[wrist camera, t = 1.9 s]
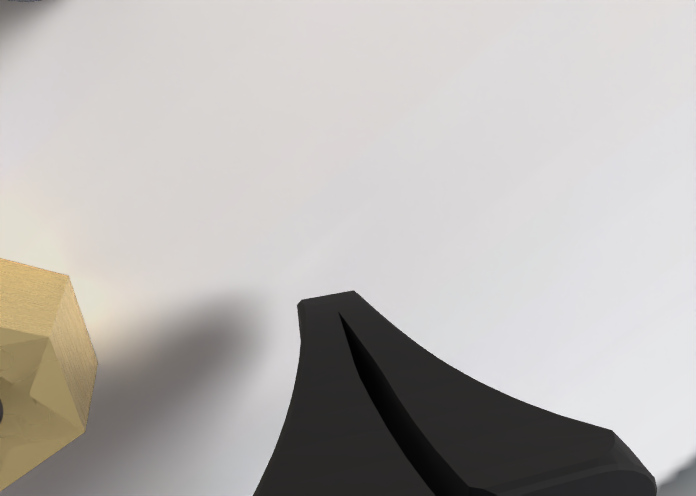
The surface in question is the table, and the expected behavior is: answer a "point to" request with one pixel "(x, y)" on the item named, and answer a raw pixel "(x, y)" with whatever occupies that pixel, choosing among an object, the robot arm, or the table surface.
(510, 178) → the table surface
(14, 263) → the nut
